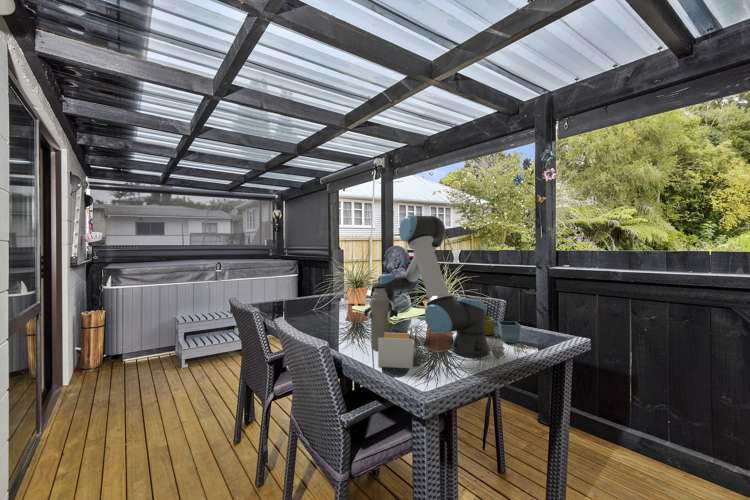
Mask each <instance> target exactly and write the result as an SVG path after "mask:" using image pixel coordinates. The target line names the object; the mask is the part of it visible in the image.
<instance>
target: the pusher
mask: <svg viewBox="0 0 750 500" xmlns="http://www.w3.org/2000/svg"><path fill="white" fill-rule="evenodd" d="M384 338H398V339H410V333H408V332H389V333H384Z"/></svg>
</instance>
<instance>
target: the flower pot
mask: <svg viewBox="0 0 750 500" xmlns="http://www.w3.org/2000/svg"><path fill="white" fill-rule="evenodd" d="M497 329H498V334H499V336H500V337H499V338H500V339H501V341H502V342H503V341H504V342H505V343H504V344H516V343H517V342H518V341H519V338H520V333H521V324H520V323H518V322H517V321H511V320H510V321H509V320H504V321H503V320H498V321H497ZM506 342H507V343H506ZM508 342H509V343H508Z"/></svg>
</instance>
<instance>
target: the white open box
mask: <svg viewBox="0 0 750 500" xmlns="http://www.w3.org/2000/svg"><path fill="white" fill-rule="evenodd" d="M377 351H378V352H377V355H378V356H377V359H378V360H377V362H378V363H377V365H378V366H379V368H380V367H381V368H393V369H394V368H397V369H413V367H414V361H415V359H414V358H415V339H413V338H409V339H398V338H378V350H377ZM378 366H377V367H378Z"/></svg>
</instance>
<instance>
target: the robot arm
mask: <svg viewBox="0 0 750 500" xmlns="http://www.w3.org/2000/svg"><path fill="white" fill-rule="evenodd" d="M398 233H399V238H400V240H401V241H403V242H406V243H407V245H408V248H409V249H411V250H413V253H414V256H413V258H412V259H411V261H410V264H409V265H408V267H407V269H406V271H405V272H404V274H403V275H402V276H395V274H393V273H382V274H381V275H379V277H380V278H379V286H385V292H386V293H387V298H389V312H388V314H387V320H389V321H390V319H391V318H393V317H398V307H397V306H396V300H395V292H404V291H413V290H417V289H418V288H419V284H420V282H419V278H420V276H421V279H422V282H423V285H424V288H425V291H426V294H427V298H428V301H427V302H426V306H427V307H426V308H425V310H424V320H425V323H426V325H427V326H428V328H429V329H430V330H431V331H432V332H434V333H435V334H448V333H451V332H456V334H455V337H454V341H453V344H452V352H453V354H455V355H457V356H460V357H463V358H464V357H465V358H483V357H484V358H485V357H486V356H489V355H490V347H489V345H488V342H487V339H486V336H485V317H486V309H485V307H486V306H485V302H484V300H481V299H477V298H469V297H457V298H456V300H455V296H454V295H453V294H450V293H449V291H448V287H447V285H446V282H445V278H444V275H443V273H442V271H441V270H442V269H441V268H440V264H439V261H438V259H437V255H436V253H435V251H436V249H437V248H439V247H441V245H442V244H443V242H444V239H445V237H446V227H445V223H444V222H443V221H442V220H441V219H440V218H439V217H437V216H433V215H416V214H413V215H412V214H411V215H410V214H409V215H406V216H404V217H403V218H402V220H401V221H400V225H399V230H398ZM395 306H396V307H395ZM363 311H364V316H365V317H367V320H368V321H369V320H370V321H371V305H370V306H369V307H368V308H366V309H364V310H363Z"/></svg>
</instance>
